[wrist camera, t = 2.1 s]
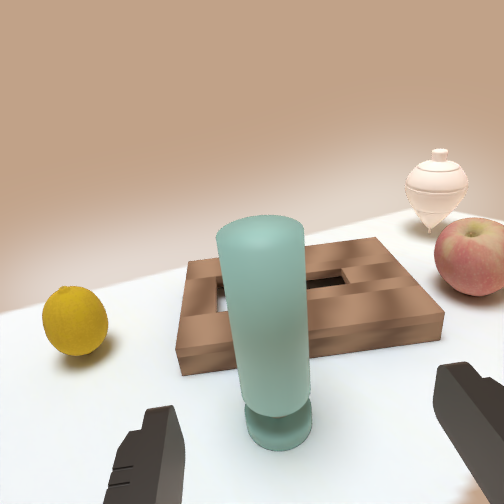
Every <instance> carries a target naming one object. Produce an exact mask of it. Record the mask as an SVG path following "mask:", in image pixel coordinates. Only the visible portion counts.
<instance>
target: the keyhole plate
mask: <svg viewBox="0 0 504 504" xmlns="http://www.w3.org/2000/svg"><path fill="white" fill-rule="evenodd" d="M305 268H306V281H307V280H315V279H322V278H330V277H337V276H342V278H343V280H344V281H345V283H346V284H343V285H336V286H328V287H321V288H313V289H306V292H307V316H308V340H309V358H314V357H322V356H329V355H336V354H343V353H350V352H357V351H365V350H372V349H379V348H386V347H393V346H401V345H408V344H415V343H422V342H429V341H436V340H440V338H441V332H442V326H443V320H444V315H445V312H444V311H443V310H442V308H441V307H440V306H439V305H438V304H437V303H436V302H435V301H434V300H433V299H432V298H431V297H430V295H429V294H428V293H427V292H426V291H425V290H424V289H423V288H422V287H421V286H420V285H419V284H418V282H417V281H416V280H415V279H414V278H413V277H412V276H411V275H410V274H409V273H408V272H407V270H406V269H405V268H404V267H403V266H402V265H401V264H400V263H399V262H398V261H397V260H396V259H395V257H394V256H393V255H392V254H391V253H390V252H389V251H388V250H387V249H386V248H385V247H384V246H383V244H382V243H381V242H380V241H379V240H378V239H377V238H376V237H372V238H364V239H357V240H349V241H342V242H334V243H326V244H319V245H311V246H305ZM222 287H224V284H223V278H222V272H221V266H220V260H219V258H212V259H204V260H197V261H189V262H188V268H187V274H186V281H185V288H184V294H183V301H182V308H181V314H180V321H179V328H178V334H177V341H176V348H175V350H176V354H177V358H178V362H179V365H180V369H181V373H182V376H185V375H192V374H199V373H207V372H214V371H221V370H228V369H235V368H237V362H236V356H235V350H234V344H233V338H232V332H231V326H230V320H229V314H228V311H224V312H217V288H222Z"/></svg>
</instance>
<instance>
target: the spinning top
mask: <svg viewBox="0 0 504 504" xmlns="http://www.w3.org/2000/svg"><path fill="white" fill-rule="evenodd" d="M447 155H448V150H446V149H435V150H433V151H432V160H428V161H424V162H422V163H420V164H418V165H417V167H415V168H414V169H413V170H412V171H411V172H410V174H409V175H408V177H407V179H406V183H405V191H406V195H407V198H408V200H409V202H410V204H411V206H412V208H413V209H414V211H415V212H416V214H417V216H418V217H419V218H420V220H421V221H422V222H423V223H424V225H425V226H426V227H428V234H430V233H431V228H433V227H435V226H436V225H438V224H439V223H440V222H441V221H443V220H444V219H445V218H446V217H447V216H448V215H449V214H450V213H451V212H452V211H453V210H454V209H455V208H456V207H457V205H458V204H459V203H460V202H461V201H462V199H463V198H464V196H465V195H466V192H467V189H468V178H467V176H466V174H465V172H464V171H463V169H462V168H461V167H460V165H459V164H457V163H455V162H452V161H449V160H446V159H447Z"/></svg>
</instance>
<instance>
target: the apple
mask: <svg viewBox="0 0 504 504" xmlns="http://www.w3.org/2000/svg"><path fill="white" fill-rule="evenodd" d="M434 259H435V263H436V267H437V269H438V271H439V273H440V275H441V276H442V278H443V279H444V280H445V281H446V282H447V283H448V284H450V285H451V286H452V287H453V288H454V289H455V290H457V291H459V292H461V293H464V294H468V295H472V296H484V295H488V294H491V293H494V292H496V291H498V290H500V289H502V288H503V287H504V225H502V224H500V223H498V222H495V221H492V220H488V219H484V218H465V219H460V220H457V221H455V222H453V223H451V224H449V225H448V226H447V227H446V228H445V229H444V230H443V231H442V232H441V234H440V235H439V237H438V239H437V241H436V244H435V250H434Z"/></svg>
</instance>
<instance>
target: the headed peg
mask: <svg viewBox="0 0 504 504" xmlns="http://www.w3.org/2000/svg"><path fill="white" fill-rule="evenodd" d="M216 241H217V247H218V254H219V260H220V266H221V272H222V278H223V284H224V290H225V296H226V302H227V308H228V314H229V320H230V326H231V332H232V338H233V344H234V350H235V356H236V362H237V368H238V374H239V380H240V387H241V393H242V397H243V400H244V402H245V403H246V404H245V417H246V423H247V429H248V432H249V434H250V436H251V438H252V439H253V440H254V441H255V442H256V443H257V444H258V445H260V446H261V447H263V448H265V449H268V450H272V451H286V450H290V449H293V448H295V447H297V446H298V445H300V444H301V443H302V442H304V440H305V439H306V438H307V437H308V435H309V433H310V431H311V427H312V412H311V402H310V399H309V395H310V390H311V388H310V364H309V340H308V316H307V292H306V268H305V244H304V228H303V226H302V224H301V223H300V222H298V221H297V220H294V219H292V218H289V217H285V216H278V215H259V216H251V217H246V218H242V219H239V220H236V221H233V222H231V223H229V224H227V225H225V226H224V227H223V228H221V229H220V230H219V231H218V233H217V235H216Z"/></svg>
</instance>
